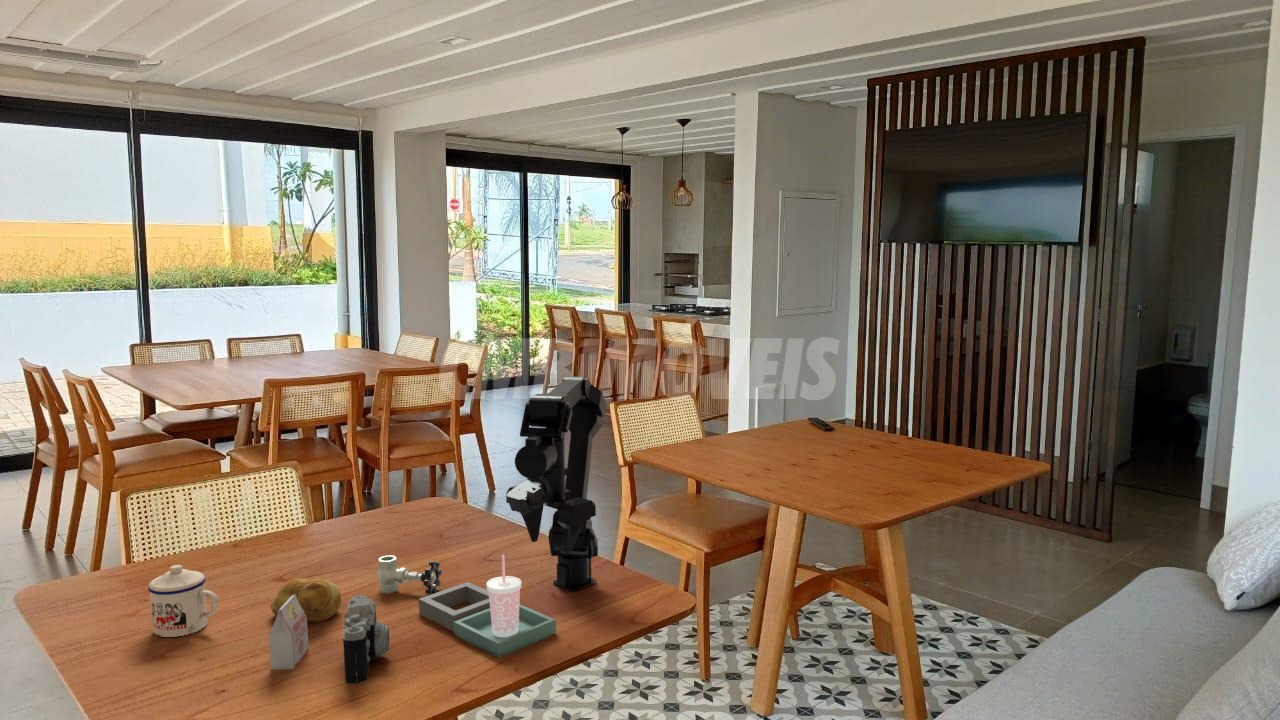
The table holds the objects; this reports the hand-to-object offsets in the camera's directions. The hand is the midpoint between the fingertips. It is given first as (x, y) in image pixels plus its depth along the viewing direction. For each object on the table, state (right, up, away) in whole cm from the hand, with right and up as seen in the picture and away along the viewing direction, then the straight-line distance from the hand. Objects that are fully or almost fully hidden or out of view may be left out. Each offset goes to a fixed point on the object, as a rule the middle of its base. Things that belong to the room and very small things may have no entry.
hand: (550, 547), depth 162 cm
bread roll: (-46, -13, +3) cm, 48 cm away
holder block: (-17, -13, +3) cm, 21 cm away
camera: (-29, -16, -16) cm, 36 cm away
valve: (-30, -12, +13) cm, 35 cm away
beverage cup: (-7, -14, -6) cm, 17 cm away
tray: (-7, -14, -6) cm, 17 cm away
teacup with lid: (-65, -14, -3) cm, 66 cm away
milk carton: (-42, -16, -15) cm, 47 cm away
